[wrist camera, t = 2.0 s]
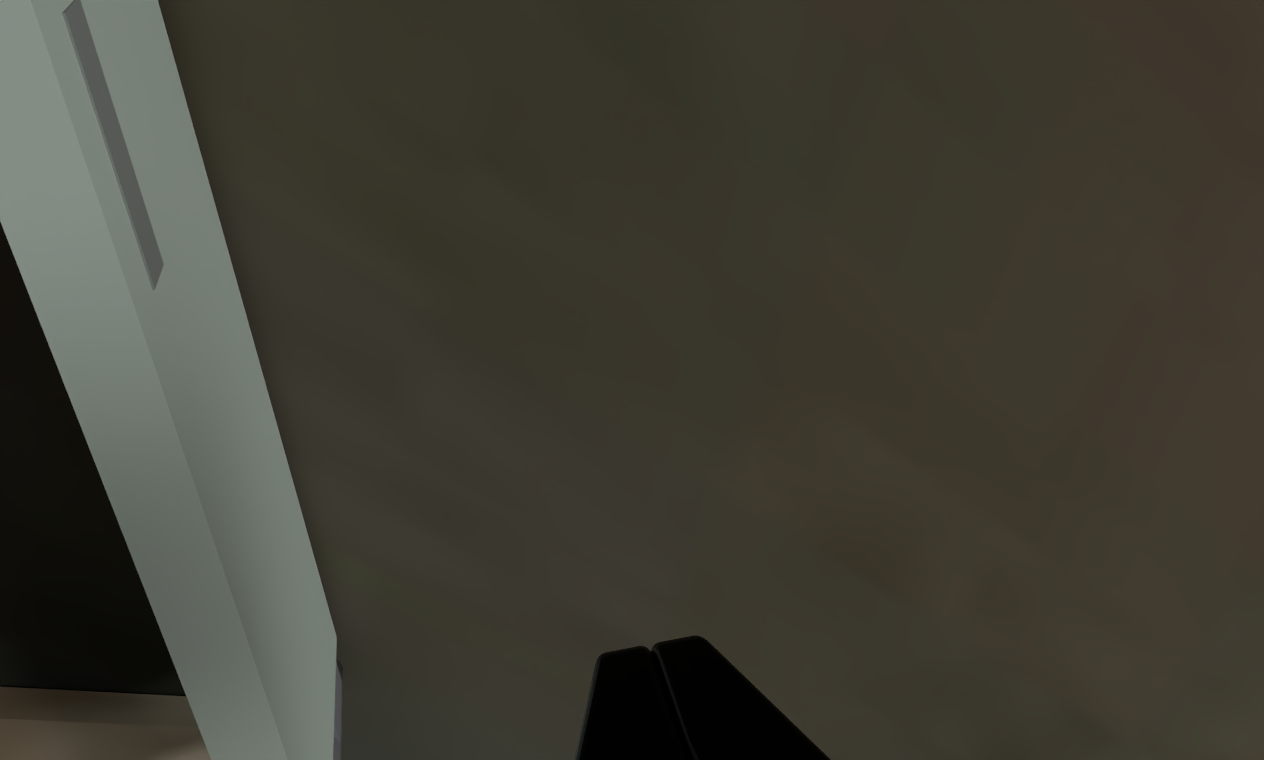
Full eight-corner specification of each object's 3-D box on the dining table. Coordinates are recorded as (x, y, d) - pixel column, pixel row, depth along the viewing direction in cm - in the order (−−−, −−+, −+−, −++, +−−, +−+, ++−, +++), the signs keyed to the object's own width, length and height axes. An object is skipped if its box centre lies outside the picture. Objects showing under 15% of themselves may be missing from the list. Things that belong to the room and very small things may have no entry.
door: (350, 681, 23) (346, 933, 19) (299, 691, 23) (282, 948, 19) (124, -127, 15) (17, -39, 11) (43, -119, 15) (-102, -27, 10)
